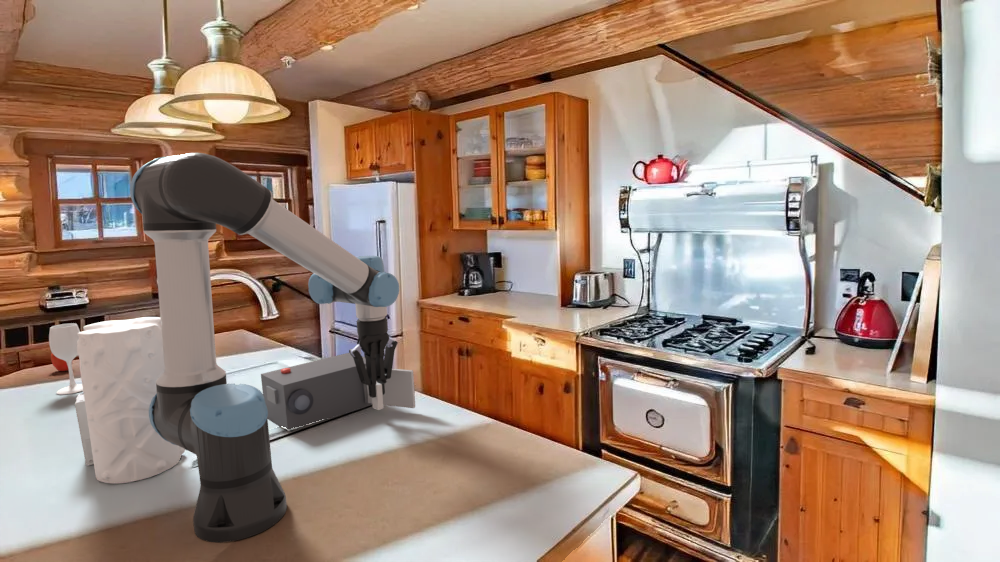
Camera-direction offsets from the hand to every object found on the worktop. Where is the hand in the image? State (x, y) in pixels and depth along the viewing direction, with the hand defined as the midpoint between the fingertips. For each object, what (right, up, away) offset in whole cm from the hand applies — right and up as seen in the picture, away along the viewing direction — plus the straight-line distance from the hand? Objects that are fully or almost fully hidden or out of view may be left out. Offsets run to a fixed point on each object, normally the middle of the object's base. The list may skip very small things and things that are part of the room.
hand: (378, 408), depth 142 cm
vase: (-47, -8, -21) cm, 52 cm away
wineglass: (-104, -2, +34) cm, 110 cm away
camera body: (-16, -3, +8) cm, 18 cm away
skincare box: (-60, -8, -15) cm, 62 cm away
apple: (-125, 0, +57) cm, 137 cm away
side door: (+2, -1, +7) cm, 7 cm away
